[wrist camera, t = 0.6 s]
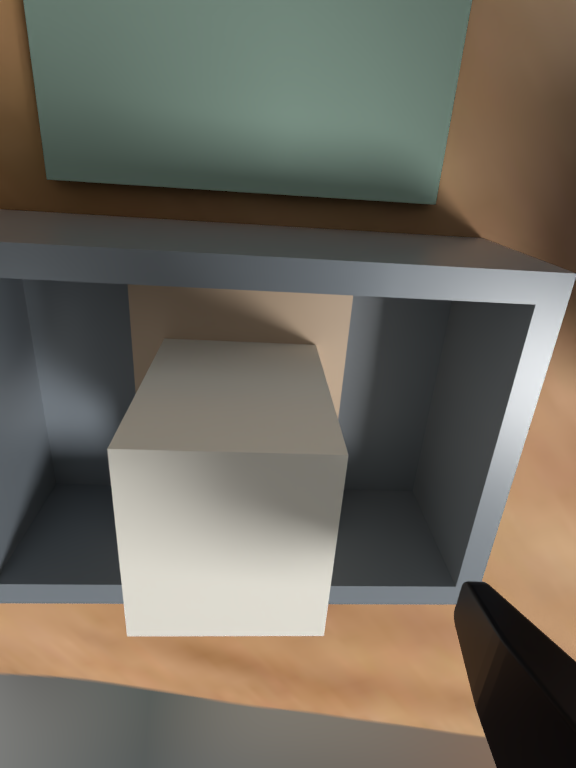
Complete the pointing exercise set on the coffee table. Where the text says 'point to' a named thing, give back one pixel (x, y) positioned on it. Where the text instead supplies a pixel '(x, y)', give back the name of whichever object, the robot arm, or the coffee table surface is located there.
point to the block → (228, 491)
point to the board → (249, 93)
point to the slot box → (272, 325)
